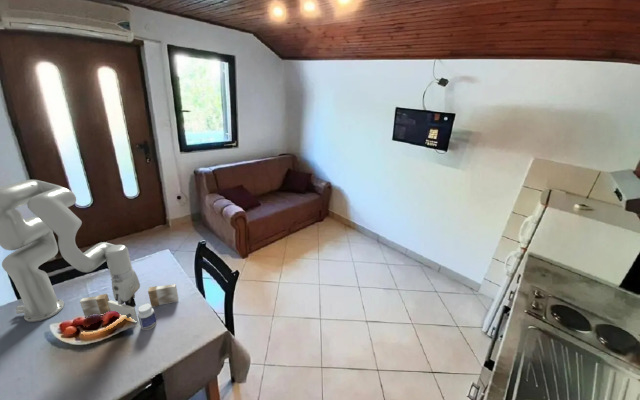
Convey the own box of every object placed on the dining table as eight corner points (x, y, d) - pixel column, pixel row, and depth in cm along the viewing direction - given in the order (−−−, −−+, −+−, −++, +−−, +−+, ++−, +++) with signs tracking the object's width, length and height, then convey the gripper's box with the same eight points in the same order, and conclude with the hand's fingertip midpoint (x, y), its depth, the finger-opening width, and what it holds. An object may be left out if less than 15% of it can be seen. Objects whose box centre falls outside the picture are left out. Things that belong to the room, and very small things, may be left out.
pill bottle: (159, 322, 116) (155, 304, 112) (148, 332, 110) (144, 314, 107) (149, 318, 117) (145, 301, 113) (137, 328, 112) (133, 310, 108)
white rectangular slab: (109, 317, 116) (104, 303, 113) (114, 313, 118) (110, 299, 116) (133, 325, 113) (129, 311, 110) (138, 321, 115) (134, 307, 112)
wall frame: (84, 318, 115) (79, 302, 112) (87, 313, 118) (82, 297, 115) (177, 302, 127) (174, 287, 124) (178, 298, 129) (175, 283, 126)
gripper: (118, 285, 104) (128, 320, 111) (142, 263, 118) (149, 295, 124) (99, 284, 104) (110, 319, 110) (125, 262, 118) (133, 295, 124)
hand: (131, 307), depth 117 cm, fingers closed
